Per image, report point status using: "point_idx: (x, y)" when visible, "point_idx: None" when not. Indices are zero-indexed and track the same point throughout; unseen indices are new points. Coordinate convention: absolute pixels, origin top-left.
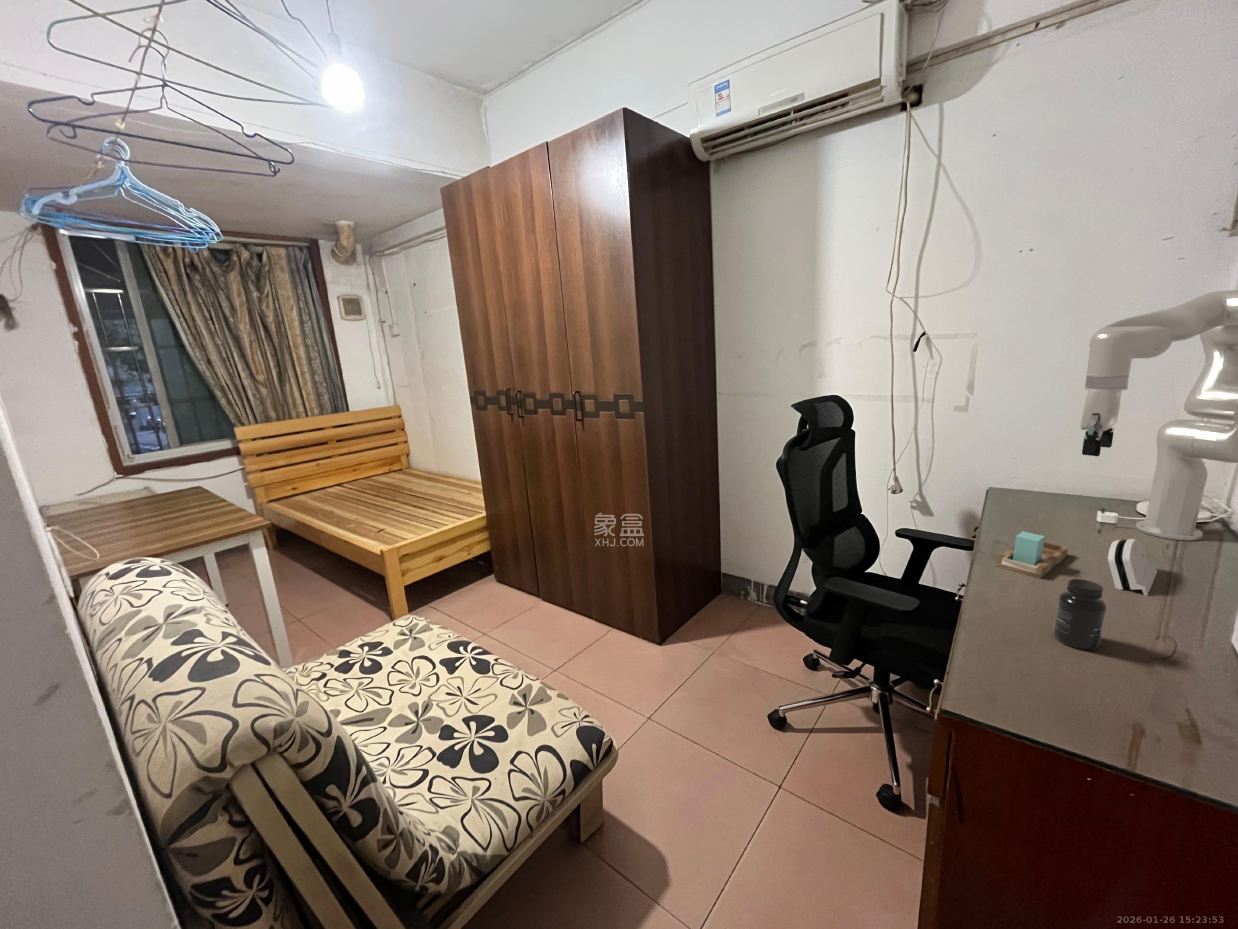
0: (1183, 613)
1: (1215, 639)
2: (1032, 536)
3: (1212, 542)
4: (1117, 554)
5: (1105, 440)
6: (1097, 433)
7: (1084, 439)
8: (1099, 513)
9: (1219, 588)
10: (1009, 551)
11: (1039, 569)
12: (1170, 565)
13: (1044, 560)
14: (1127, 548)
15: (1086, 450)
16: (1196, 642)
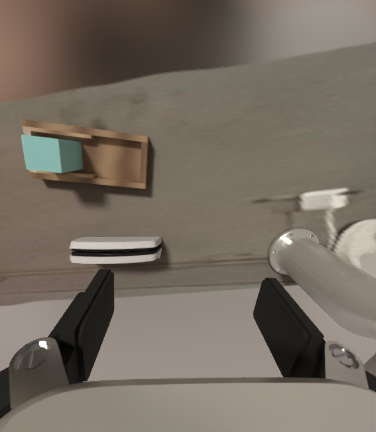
0: (68, 280)
1: (33, 298)
2: (43, 157)
3: (277, 278)
4: (79, 250)
5: (268, 326)
6: (298, 330)
7: (39, 338)
8: (336, 191)
9: (153, 291)
10: (64, 128)
11: (30, 175)
12: (187, 262)
13: (68, 174)
14: (89, 260)
15: (77, 297)
16: (13, 291)
